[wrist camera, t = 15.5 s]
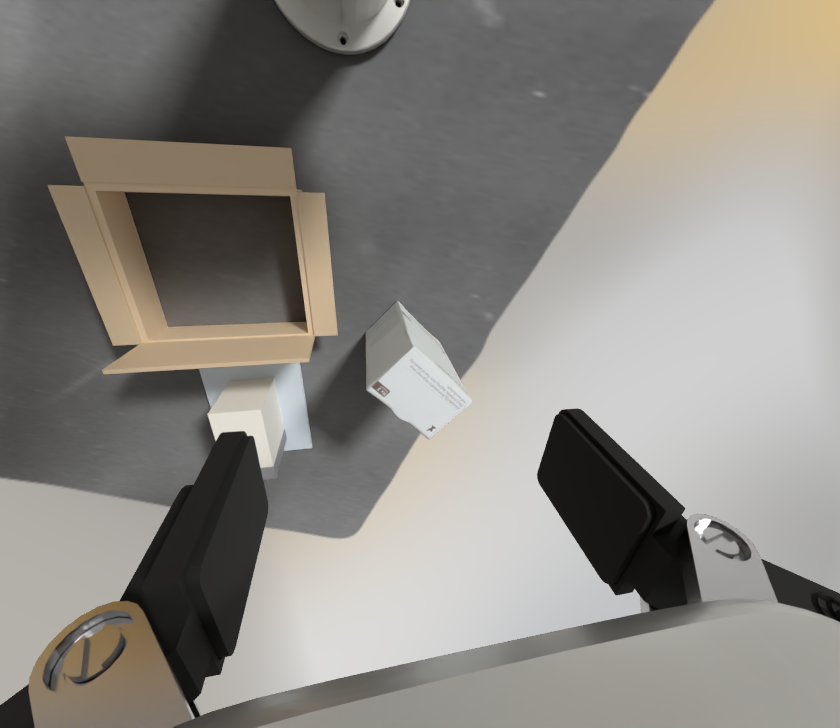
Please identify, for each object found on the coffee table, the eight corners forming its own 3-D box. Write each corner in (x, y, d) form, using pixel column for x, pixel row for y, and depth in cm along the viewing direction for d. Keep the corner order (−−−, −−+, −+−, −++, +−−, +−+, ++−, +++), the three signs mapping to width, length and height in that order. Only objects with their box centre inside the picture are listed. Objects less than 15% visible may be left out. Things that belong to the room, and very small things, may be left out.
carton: (68, 143, 28) (-59, 116, 19) (323, 155, 32) (314, 137, 23) (138, 333, 36) (69, 376, 27) (338, 325, 39) (335, 360, 31)
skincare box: (439, 341, 43) (480, 402, 30) (406, 372, 44) (431, 444, 31) (394, 296, 39) (417, 344, 26) (359, 332, 40) (365, 394, 27)
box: (228, 381, 39) (205, 415, 33) (275, 377, 40) (261, 410, 34) (244, 442, 43) (227, 484, 37) (286, 438, 44) (276, 478, 38)
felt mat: (200, 367, 38) (198, 368, 38) (299, 361, 40) (299, 362, 40) (226, 454, 44) (225, 457, 44) (312, 445, 46) (312, 448, 46)
